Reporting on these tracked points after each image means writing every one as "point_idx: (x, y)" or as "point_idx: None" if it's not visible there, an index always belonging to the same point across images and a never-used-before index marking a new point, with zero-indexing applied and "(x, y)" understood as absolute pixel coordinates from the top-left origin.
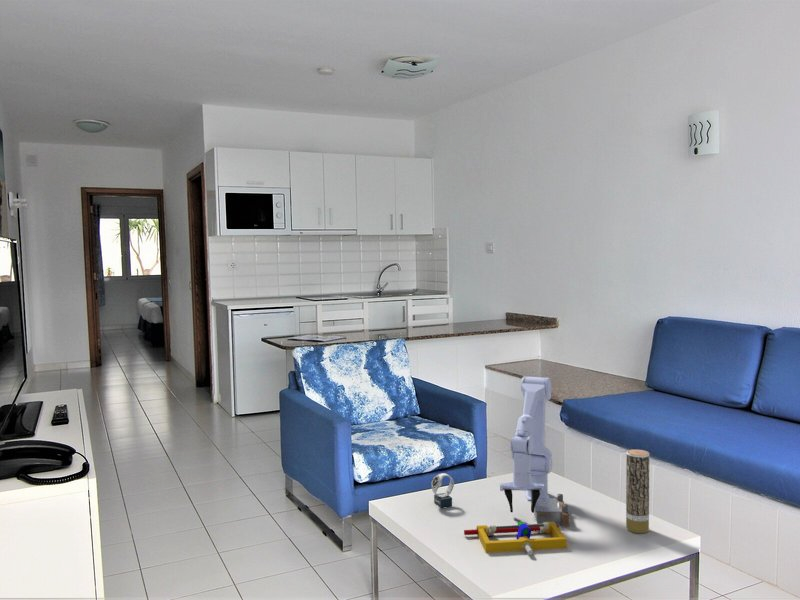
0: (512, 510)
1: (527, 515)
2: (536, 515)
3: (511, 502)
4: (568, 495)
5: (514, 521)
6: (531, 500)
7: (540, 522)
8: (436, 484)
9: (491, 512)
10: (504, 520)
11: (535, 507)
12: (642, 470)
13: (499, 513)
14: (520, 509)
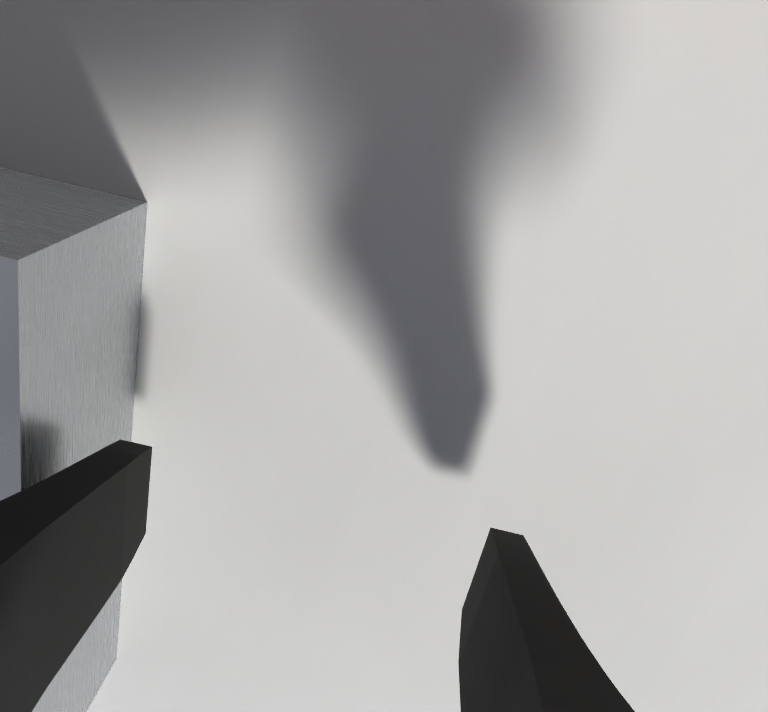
0: (501, 547)
1: (231, 509)
2: (84, 288)
3: (555, 676)
4: None
5: (506, 349)
6: (38, 690)
7: (77, 191)
8: None
9: (710, 701)
10: (656, 419)
11: (26, 484)
12: None
13: (612, 651)
14: (277, 689)
